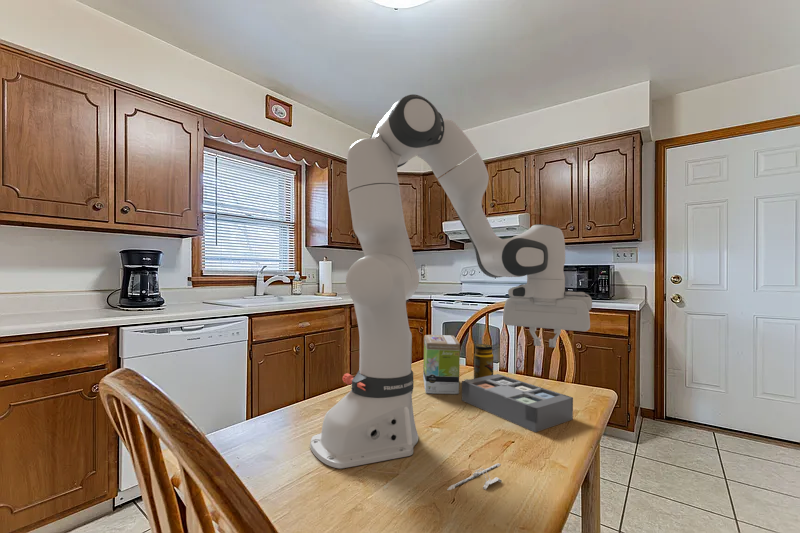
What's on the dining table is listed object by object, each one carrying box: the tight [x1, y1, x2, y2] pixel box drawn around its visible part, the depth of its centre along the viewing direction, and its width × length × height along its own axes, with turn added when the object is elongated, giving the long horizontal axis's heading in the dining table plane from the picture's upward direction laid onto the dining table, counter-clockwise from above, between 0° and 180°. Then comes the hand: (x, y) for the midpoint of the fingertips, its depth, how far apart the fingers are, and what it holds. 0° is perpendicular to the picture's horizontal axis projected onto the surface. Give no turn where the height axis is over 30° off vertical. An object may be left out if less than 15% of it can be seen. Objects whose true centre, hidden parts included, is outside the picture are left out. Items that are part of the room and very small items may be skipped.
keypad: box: [461, 373, 574, 433], centre depth 101 cm, size 14×24×5 cm, turn 33°
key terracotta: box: [477, 384, 494, 389], centre depth 104 cm, size 4×4×2 cm
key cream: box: [515, 386, 534, 398], centre depth 103 cm, size 4×4×2 cm
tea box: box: [422, 334, 461, 395], centre depth 119 cm, size 15×10×15 cm
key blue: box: [532, 392, 555, 402], centre depth 97 cm, size 4×4×2 cm
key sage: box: [516, 397, 537, 404], centre depth 93 cm, size 4×4×2 cm
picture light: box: [446, 463, 503, 491], centre depth 67 cm, size 14×4×2 cm, turn 128°
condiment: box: [463, 343, 494, 381], centre depth 123 cm, size 7×8×12 cm
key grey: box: [494, 380, 515, 388], centre depth 108 cm, size 4×4×2 cm
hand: (544, 346), depth 97 cm, fingers open, 2 cm apart
